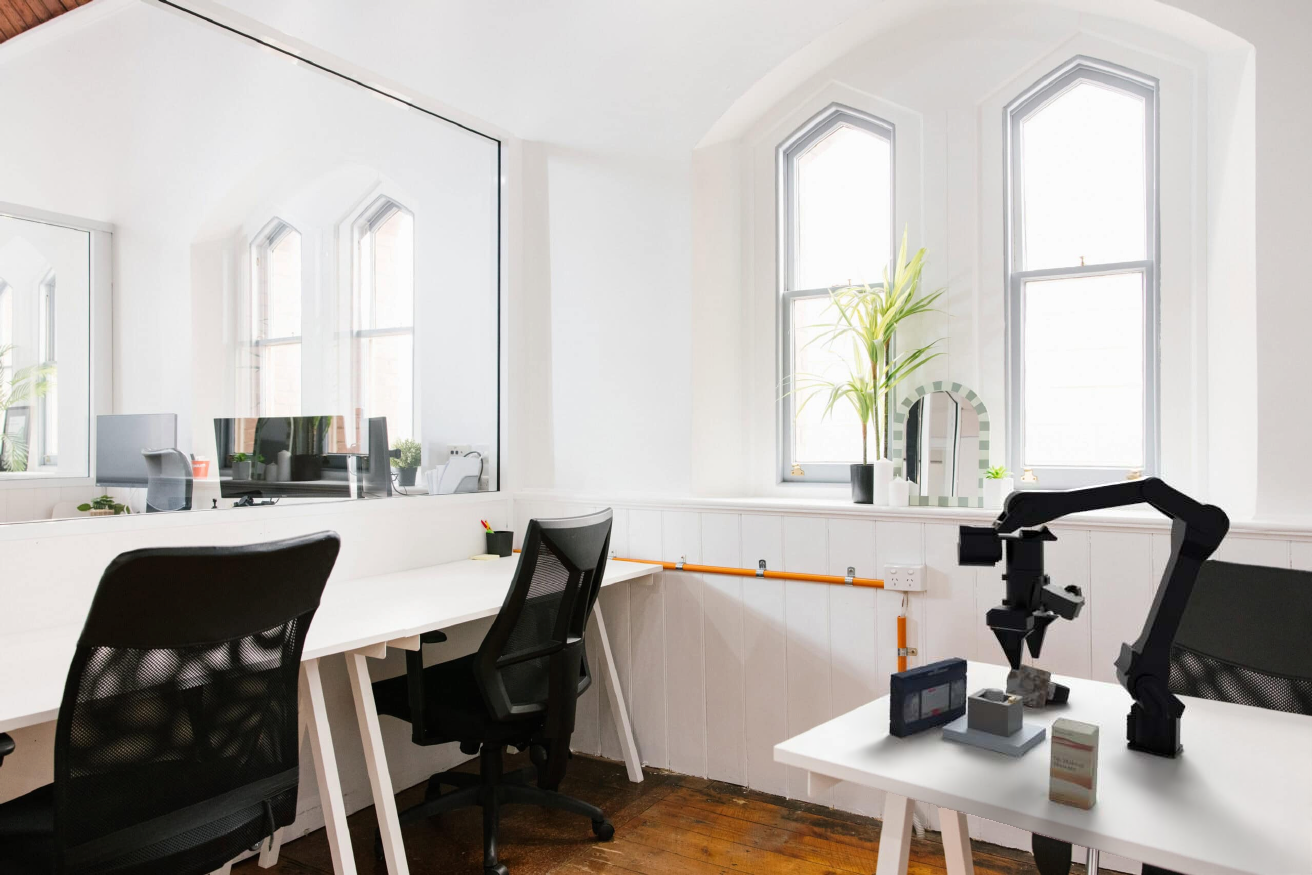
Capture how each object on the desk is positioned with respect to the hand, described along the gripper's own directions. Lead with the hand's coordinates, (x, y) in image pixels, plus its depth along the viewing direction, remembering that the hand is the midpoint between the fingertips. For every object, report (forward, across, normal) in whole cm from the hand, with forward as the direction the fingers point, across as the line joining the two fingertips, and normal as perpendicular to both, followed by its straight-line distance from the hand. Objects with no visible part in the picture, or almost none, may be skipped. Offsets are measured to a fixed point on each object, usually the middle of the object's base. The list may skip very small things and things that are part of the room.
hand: (1026, 663), depth 136 cm
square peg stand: (+11, -5, +4) cm, 13 cm away
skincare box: (+12, -22, -13) cm, 28 cm away
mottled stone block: (+12, +21, +5) cm, 24 cm away
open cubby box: (+10, -4, +4) cm, 11 cm away
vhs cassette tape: (+12, -7, +14) cm, 19 cm away
